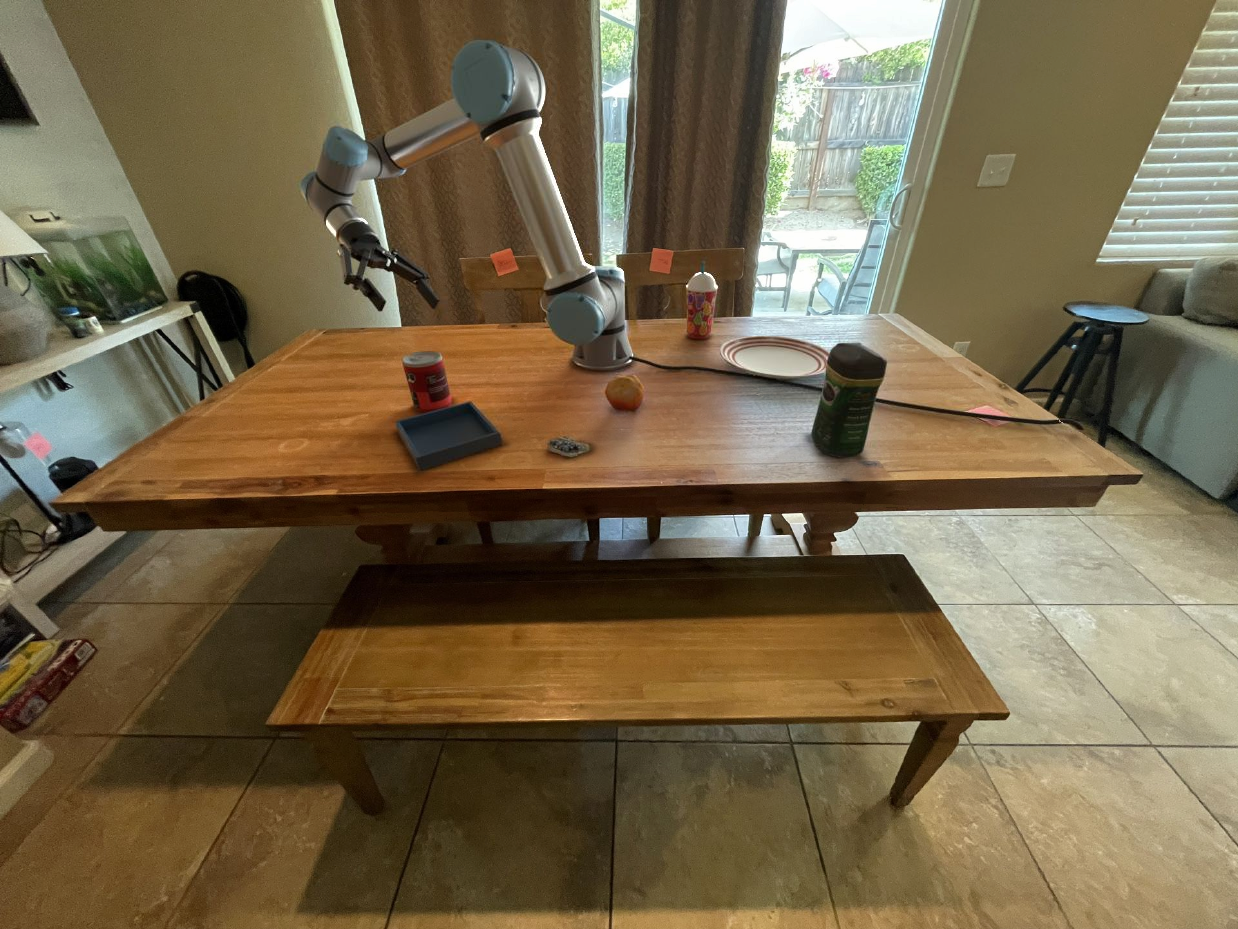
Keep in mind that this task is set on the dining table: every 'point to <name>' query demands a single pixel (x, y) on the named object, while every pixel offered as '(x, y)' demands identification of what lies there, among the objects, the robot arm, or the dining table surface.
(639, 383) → the fruit
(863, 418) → the coffee jar
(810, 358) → the dinner plate
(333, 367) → the dining table surface
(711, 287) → the smoothie
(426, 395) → the canned food
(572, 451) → the grey mineral rock
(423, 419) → the tray
